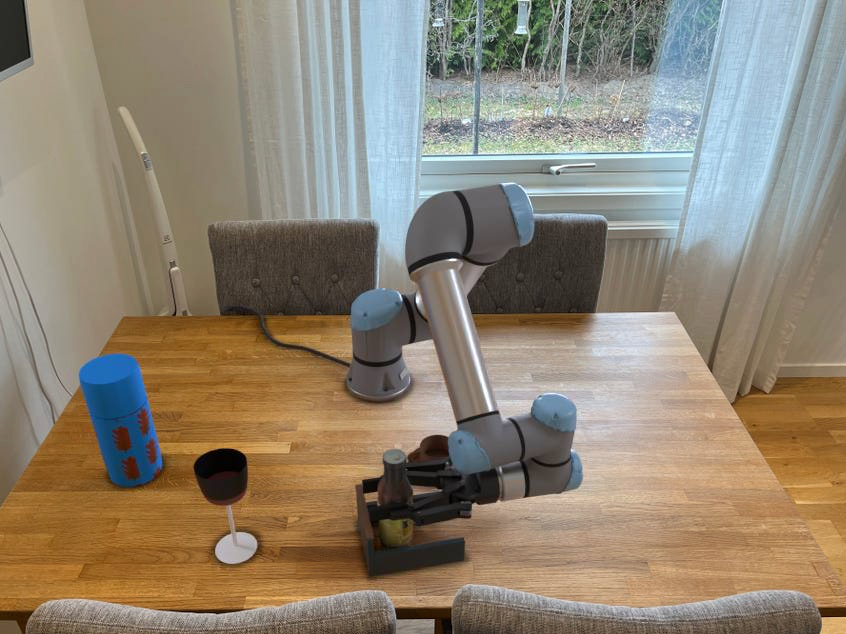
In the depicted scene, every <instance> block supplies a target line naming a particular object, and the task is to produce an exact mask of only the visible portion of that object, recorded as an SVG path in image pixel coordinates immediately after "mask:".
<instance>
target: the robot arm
mask: <svg viewBox="0 0 846 634" xmlns="http://www.w3.org/2000/svg"><path fill="white" fill-rule="evenodd" d="M534 233H535V216H534V210H533V206H532V202H531V200H530V197H529V195H528V194H527V191H526V190H525V189H524V188H523V187H522V185H519V184H518V183H515V182H507V183H506V182H505V183H502V182H498V183H496V184H490V185H485V186H477V187H471V188H470V187H469V188H463V189H455V190H445V191H442V192H438V193H436V194H433V195H431V196H429V197H428V198H427V199H425V201H424V202H422V204H421V205H419V207H418V208H417V209H416V211H415V212H414V214H413V216H412V218H411V220H410V223H409V225H408V227H407V232H406V236H405V244H404V245H405V246H404V257H405V265H406V269H407V273H408V277H409V280H410V281H412V282H414V283H416V284H417V289H416V291H414V292H409V293H403V294H400V292H399V291H397V290H395V289H392V288H387V289H385V288H382V287H381V288H380V287H379V288H374V289H370V290H368V291H365V292H363V293H361V294H360V295H358V296H357V297H355V300H354V301H353V302H352V304H351V307H350V318H349V323H350V327H351V347H352V359H351V362H347V361H345V360H342V359H339V358H337V357H334V356H332V355H329V354H327V353H324V352H321V351H319V350H317V349H314V348H311V347H307V346H303V345H299V344H291V343H285V342H281V341H278V340H277V339H275V338H273V337H272V336H271V335H270V333H269V332H268V330H267V328H266V327H265V323H264V316H263V315H262V314H261V312H259V311H258V310H255V309H253V308H252V307H249V306H245V305H242V304H241V305H239V304H237V305H236V304H235V305H231V306H229V307H228V308H227V311H229V312H231V311H232V310H236V309H240V310H244V311H247V312H251V313H252V314H255V315H257V316H258V317H259V321H260V329H261V331H262V332H263V334H264V335H265V336H266V338H267V339H268V340H269V341H270V342H271V343H273V344H275V345H277V346H280V347H283V348H289V349H295V350H296V349H297V350H302V351H306V352H309V353H312V354H315V355H318V356H320V357H322V358H325V359H327V360H329V361H332V362H335V363H337V364H340V365H343V366H345V367H348V371H347V374H346V387H347V390H348V392H349V393H350V394H351V395H352V396H354V397H355V398H357V399H360V400H362V401H366V402H371V403H372V402H373V403H383V402H390V401H393V400H395V399H398V398H400V397H402V396H403V395H404V394H406V392H408V391H409V389H410V387H411V376H410V375H411V374H410V372H409V369H408V366H407V364H406V361H405V359H404V357H403V346H408V345H413V344H416V343H422V342H426V341H431V340H432V341H433V345H434V348H435V351H436V355H437V359H438V362H439V365H440V369H441V374H442V376H443V380H444V384H445V387H446V392H447V394H448V398H449V402H450V405H451V409H452V412H453V416H454V420H455V424H456V428H457V429H456V430H454V431H452V432H451V433H450V434H449V436H448V437H449V438H448V446H449V454H450V457H446V458H444V459H441V460H431V461H421V462H410V463H408V462H407V463H406V476H407V478H408V480H409V482H410V484H411V487H426V488H436V490H438V491H441V492H440V493H437V494H435V495H432V496H430V497H428V498H425V499H423V500H420V501H418V502H416V503H413V504H412V503H411V502H409V507H408V504H407V501H406V502H399V503H393V504H386V505H380V506H373V507H369V520H370V522H373V521H380V520H386V519H390V520H392V521H395V520H401V519H408V518H409V519H411V520H413V524H414V526H415V527H416V528H421V527H425V526H429V525H433V524H438V523H442V522H447V521H452V520H456V519H457V520H458V519H464V520H465V519H466V520H470V519H471V518H472V516H473V515H472V514H473V505H475V504H476V505H477V506H484V505H490V504H496V503H497V502H498V501H499V502H501V503H502V502H508V501H514V500H515V501H516V500H521V499H527V498H534V497H542V496H549V495H561V494H563V493H566V492H571V491H574V490H578V489H579V488H580V487H581V485H582V483H583V479H584V473H583V463H582V460H581V457H580V456H579V453H577V451H576V450H574V449H572V447H573V442H574V438H575V432H576V430H577V417H578V416H577V415H578V414H577V411H578V410H577V406H576V405H575V403H574V402H573V401H572V400H571V399H570V397H567V396H565V395H563V394H560V393H554V392H550V393H543V394H540V395H538V397H537V398H535V399H534V400H533V402H532V405H531V407H530V412H525V413H522V414H517V415H513V416H510V417H509V416H508V417H506V418H502V415H501V413H500V408H499V405H498V402H497V398H496V395H495V391H494V389H493V384H492V380H491V378H490V374H489V371H488V367H487V364H486V360H485V357H484V353H483V350H482V349H483V348H482V346H481V343H480V338H479V335H478V332H477V328H476V325H475V321H474V318H473V314H472V311H471V307H470V304H469V300H468V295H469V293H470V292H471V290H472V289H473V288H474V287H475V285H476V284H477V282H478V280H479V279H480V277H481V276H482V275H483V273H484V272H485V270H486V269H487V268H488V267H492V266H494V265H496V264H498V263H499V262H501V260H503V258H504V257H505V255H506V254H507V253H508V252H509V250H511V249H513V248H522V247H523V246H527V245H529V243H531V241H532V239H533V237H534ZM383 477H384V474H381V475H380V476H379V477H372V478H364V479H362V480H361V484H362V488H363V494H364V495H366V494H373V493H378V490H377V489H378V484H379V482H380V480H381V479H382V478H383ZM441 478H442V483H441Z"/></svg>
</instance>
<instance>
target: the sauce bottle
mask: <svg viewBox="0 0 846 634" xmlns="http://www.w3.org/2000/svg"><path fill="white" fill-rule="evenodd" d="M407 457H408V456H407V454H406V452H405V451H403V450H402V449H400V448H390V449H388V450H386V451H385V452H383V454H382V465H383V475H384V477H383V478H382V479H381V480H380V482H379V484H378V489H377V490H378V492H377V498H376V501H377V506H380V505H386V504H393V503H399V502H406V501H407V504H408V507H409V502H411V503H412V504H413V495H414V489H413V486H411V484H410V482H409V480H408V478H407V476H406V470H407V469H406V463H408V459H407ZM377 533H378V535H377V536H378V540H379V544H380V546H381V548H382V549H383V550H387V549H393V548H399V547H405V546H411V545H412V542H413V537H414V521H413V520H411V519H409V518H408V519H401V520H395V521H392V520H390V519H386V520H380V521H378V524H377Z"/></svg>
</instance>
